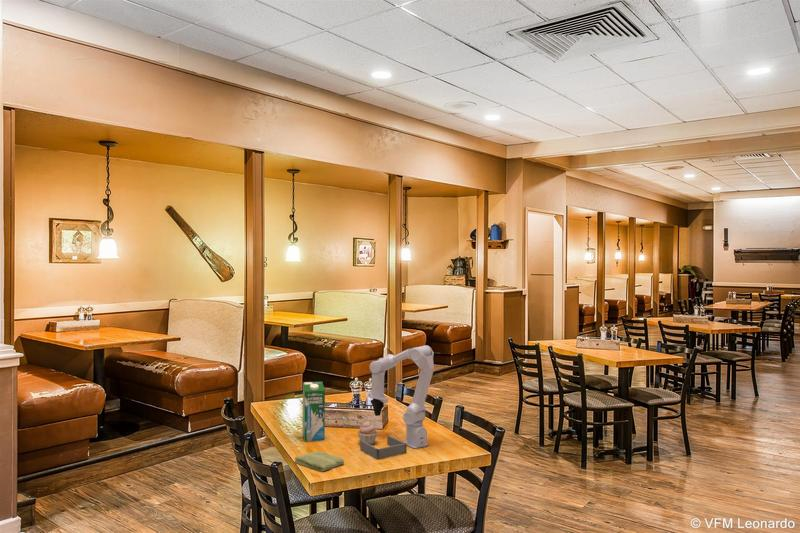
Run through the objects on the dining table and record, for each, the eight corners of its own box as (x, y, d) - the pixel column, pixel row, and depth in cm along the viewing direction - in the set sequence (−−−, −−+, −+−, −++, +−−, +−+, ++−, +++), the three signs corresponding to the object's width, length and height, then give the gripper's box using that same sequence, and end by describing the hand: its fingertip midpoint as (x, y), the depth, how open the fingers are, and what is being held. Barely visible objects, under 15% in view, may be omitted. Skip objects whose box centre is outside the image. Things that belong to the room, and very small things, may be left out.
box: (406, 453, 242) (406, 443, 242) (377, 459, 234) (377, 449, 234) (388, 444, 253) (388, 435, 253) (360, 450, 245) (360, 440, 245)
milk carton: (304, 441, 256) (304, 386, 255) (302, 435, 264) (302, 382, 264) (324, 440, 258) (325, 385, 258) (321, 434, 267) (322, 381, 266)
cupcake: (382, 443, 254) (382, 421, 254) (365, 448, 248) (366, 425, 248) (369, 438, 261) (369, 417, 261) (353, 442, 255) (353, 420, 255)
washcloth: (316, 455, 240) (316, 447, 240) (346, 465, 228) (346, 457, 228) (292, 463, 230) (292, 455, 230) (321, 474, 218) (321, 466, 218)
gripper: (362, 384, 269) (362, 412, 269) (378, 390, 257) (378, 420, 257) (375, 382, 273) (375, 410, 273) (391, 388, 261) (391, 418, 261)
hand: (377, 415), depth 265 cm, fingers closed
